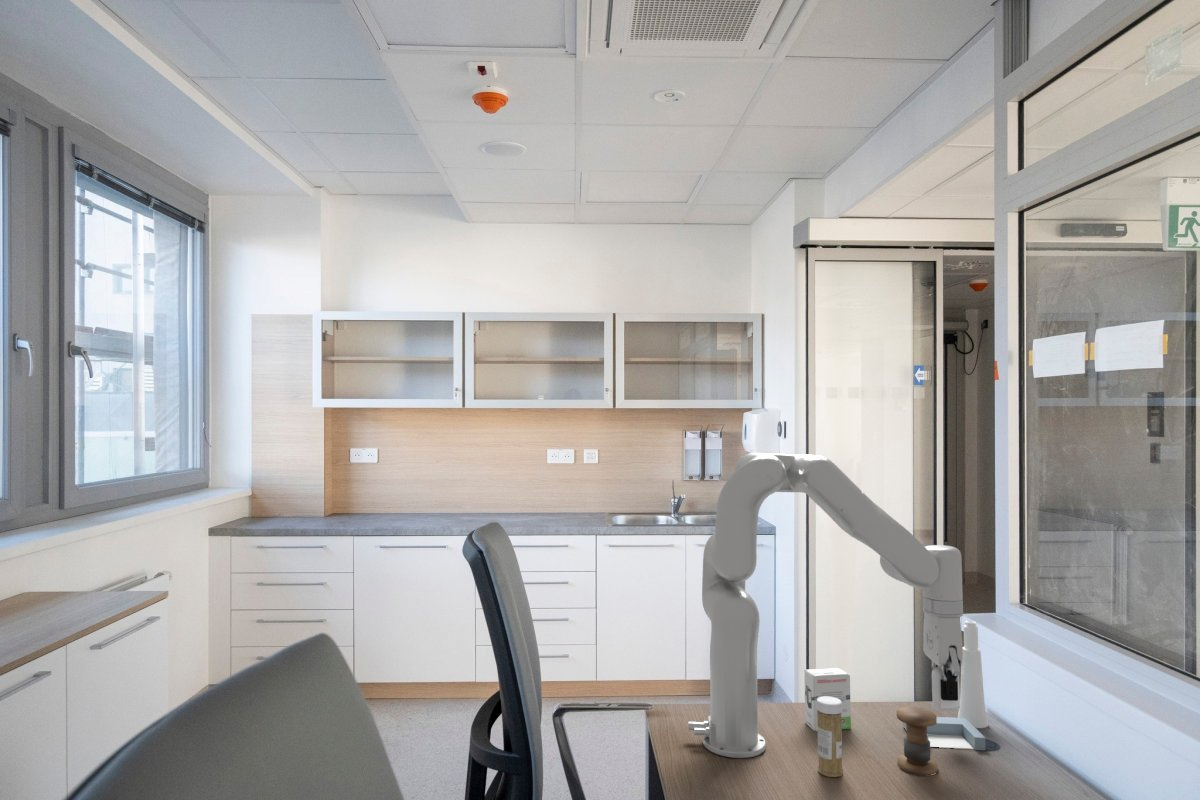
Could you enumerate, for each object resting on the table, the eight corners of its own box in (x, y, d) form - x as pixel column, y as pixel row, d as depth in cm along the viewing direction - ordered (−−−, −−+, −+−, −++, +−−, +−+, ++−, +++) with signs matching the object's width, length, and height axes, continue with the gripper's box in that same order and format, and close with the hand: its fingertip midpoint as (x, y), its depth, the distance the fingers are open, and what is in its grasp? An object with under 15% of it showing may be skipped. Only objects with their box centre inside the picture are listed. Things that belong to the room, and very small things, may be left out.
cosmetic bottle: (961, 727, 156) (959, 624, 157) (954, 716, 162) (952, 617, 163) (992, 729, 155) (989, 626, 156) (983, 718, 160) (981, 619, 161)
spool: (904, 774, 134) (903, 720, 135) (892, 758, 141) (892, 706, 142) (943, 776, 134) (942, 721, 134) (930, 759, 140) (929, 707, 141)
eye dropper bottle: (964, 713, 146) (962, 652, 147) (935, 711, 147) (932, 651, 148) (957, 705, 150) (955, 646, 151) (929, 704, 151) (926, 645, 152)
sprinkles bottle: (847, 776, 134) (846, 703, 134) (825, 779, 132) (824, 705, 133) (834, 765, 138) (833, 694, 139) (812, 768, 137) (812, 696, 138)
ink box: (840, 720, 160) (839, 666, 160) (851, 729, 155) (851, 673, 155) (804, 722, 158) (803, 668, 159) (814, 732, 154) (813, 675, 154)
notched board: (918, 747, 146) (917, 734, 146) (902, 727, 156) (902, 715, 156) (985, 750, 145) (985, 737, 145) (965, 729, 155) (965, 718, 155)
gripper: (910, 596, 159) (913, 681, 158) (938, 616, 142) (940, 710, 141) (946, 597, 158) (948, 682, 157) (978, 616, 141) (981, 712, 140)
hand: (945, 694), depth 149 cm, fingers closed on eye dropper bottle, 4 cm apart
